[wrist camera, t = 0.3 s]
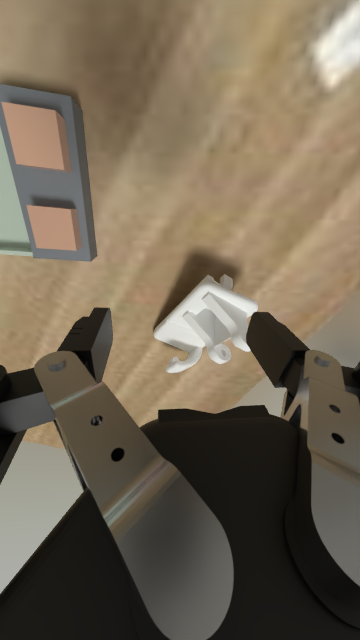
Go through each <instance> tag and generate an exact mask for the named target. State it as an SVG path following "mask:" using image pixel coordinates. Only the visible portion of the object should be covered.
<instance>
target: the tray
mask: <svg viewBox="0 0 360 640" xmlns="http://www.w3.org/2000/svg"><path fill="white" fill-rule="evenodd" d="M0 254H7V255H22V256H33V253H32V249H31V245H30V241H29V237H28V233H27V229H26V226H25V222H24V218H23V214H22V210H21V206H20V202H19V198H18V194H17V190H16V186H15V182H14V178H13V175H12V171H11V167H10V163H9V159H8V155H7V151H6V147H5V143H4V139H3V135H2V131H1V127H0Z"/></svg>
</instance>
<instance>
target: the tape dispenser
mask: <svg viewBox="0 0 360 640" xmlns="http://www.w3.org/2000/svg"><path fill="white" fill-rule="evenodd" d="M232 288H233V279H232V278H230V277H229V276H227V275H226V274H224V275H223V276H222V277H221V278H220V283H218V282H216V281H214V278H213V277H211V276H210V275H207V276H206V277H205V278H204V279H203V280H202V281H201V282H200V283H199V284H198V285H197V286H196V287H195V288H194V289H193V290H192V291H191V292H190V293H189V294H188V295H187V296H186V298H185V299H184V300H183V301H182V302H181V303H180V304H179V305H178V306H177V307H176V308H175V309H174V310H173V311H172V312H171V313H170V314H169V315H168V316H167V317H166V318H165V319H164V320H163V321H162V322H161V323H160V324H159V325H158V326H157V327H156V328H155V329H154V334H153V335H154V337H155V338H156V339H158V340H160V341H162V342H165V343H167V344H170V345H172V346H174V347H177V348H179V349H182V350H184V351H186V352H188V357H187V359H186V360H185V361H179V359H178V358H177V357H174V358H172V359H171V360H169V363H168V366H167V367H166V371H167V372H169V373H176V372H181V371H183V370H185V369H187V368H189V367H191V366H193V365H194V364H195V363H196V362H197V361H198V360H199V358H200V356H201V354H202V348H203V347H204V346H206V347H207V352H208V355H209V356H210V358H211V359H212V360H213V361H215V362H217V363H219V364H223V363H225V362H227V361H229V360H230V359H231V352H230V350H229V348H228V347H227V346H226V345H223V344H222V343H223V342H224V341H226V340H228V339H230V338H231V340H232V342H233V344H234V345H235V346H236V347H239V348H240V349H242V350H244V351H246V352H249V351H251V350H250V348H249V347H248V345H247V343H246V333H247V330H248V324H247V318H248V317H249V316H251V315H252V314H253V313H254V312H256V311H257V310H258V304H257V302H256V301H255V300H252V299H250V298H247V297H245V296H243V295H241V294H240V293H238V292H237V293H235V292H233V291H231V289H232Z"/></svg>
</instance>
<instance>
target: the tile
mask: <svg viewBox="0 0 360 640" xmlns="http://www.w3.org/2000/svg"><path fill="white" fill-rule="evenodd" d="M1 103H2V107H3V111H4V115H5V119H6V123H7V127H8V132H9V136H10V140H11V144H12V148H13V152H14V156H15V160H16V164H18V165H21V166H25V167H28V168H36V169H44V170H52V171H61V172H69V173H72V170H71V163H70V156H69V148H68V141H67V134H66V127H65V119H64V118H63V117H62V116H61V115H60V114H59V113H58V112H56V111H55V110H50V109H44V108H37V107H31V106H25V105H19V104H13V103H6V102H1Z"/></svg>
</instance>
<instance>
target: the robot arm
mask: <svg viewBox="0 0 360 640" xmlns="http://www.w3.org/2000/svg"><path fill="white" fill-rule="evenodd" d="M112 341H113V330H112V320H111V311H110V308H94V309H93V311H92V313H91V314H90V316H89V317H82V318H81V319H79V320H78V321H76V322H75V324H74V325H73V327H72V329H71V330H70V332H69V333H68V335H67V336H66V338H65V339H64V341H63V342H62V344H61V346H60V347H59V349H58V350H57V352H53V353H50V354H48V355H46V356H44V357H42V358H41V359H40V360H38V362H37V363H36V364H35V366H34V368H31V369H27V370H22V371H17V372H13V373H7V371H6V369H5V367H4V366H2V365H0V484H1V482H2V480H3V478H4V476H5V474H6V472H7V469H8V468H9V465H10V463H11V461H12V459H13V457H14V455H15V453H16V451H17V449H18V447H19V445H20V443H21V441H22V439H23V437H24V435H25V433H26V430H27V429H29V428H32V427H35V426H38V425H41V424H44V423H47V422H51V421H53V422H54V424H55V426H56V429H57V431H58V433H59V435H60V438H61V440H62V442H63V445H64V447H65V449H66V451H67V454H68V456H69V458H70V461H71V463H72V466H73V468H74V471H75V473H76V475H77V478H78V480H79V482H80V485H81V487H82V489H83V493H82V494H81V495H80V497H79V498H78V499H77V500H76V502H75V503H74V504H73V505H72V506H71V508H70V509H69V510H68V512H67V513H66V514H65V515H64V516H63V517H62V519H61V520H60V521H59V522H58V524H57V525H56V526H55V527H54V529H53V530H52V531H51V532H50V534H49V535H48V536H47V537H46V538H45V540H44V541H43V542H42V543H41V545H40V546H39V547H38V548H37V550H36V551H35V552H34V553H33V555H32V556H31V557H30V558H29V559H28V561H27V562H26V563H25V564H24V565H23V567H22V568H21V569H20V570H19V572H18V573H17V574H16V575H15V577H14V578H13V579H12V580H11V582H10V583H9V584H8V585H7V586H6V588H5V589H4V590H3V591H2V593H1V594H0V640H360V362H359V363H358V365H357V366H356V367H355V369H354V368H349V367H344V366H341V365H340V363H339V362H338V361H337V360H336V359H335V358H333V357H332V356H330V355H329V354H326V353H324V352H321V351H317V350H310V349H309V348H308V347H307V346H305V344H304V343H303V342H302V341H301V340H299V339H298V338H297V337H295V335H294V334H293V333H292V332H290V330H289V329H288V328H287V327H286V326H285V325H283V324H281V323H280V322H278V321H277V320H276V319H275V318H274V317H273V316H272V315H271V314H270V313H268V312H254V313H253V314H252V317H251V320H250V323H249V327H248V330H247V333H246V343H247V345H248V347H249V348H250V350H251V351H252V353H253V354H254V356H255V357H256V359H257V360H258V362H259V364H260V365H261V367H262V368H263V370H264V371H265V373H266V374H267V376H268V377H269V379H270V380H271V382H272V384H273V385H274V387H275V388H279V387H286V388H287V390H286V392H285V394H284V400H283V406H282V412H281V417H277V416H274V415H270V414H269V413H268V411H267V409H266V407H265V405H255V406H240V407H236V408H233V409H230V410H227V411H224V412H220V413H217V414H212V413H207V412H201V411H196V410H191V409H166V410H158V419H156V420H153V421H151V422H149V423H146V424H145V425H143V426H141V427H140V428H139V427H138V425H137V424H136V423H135V421H134V420H133V419H132V418H131V416H130V415H129V414H128V412H127V411H126V410H125V409H124V407H123V406H122V405H121V403H120V402H119V401H118V400H117V398H116V397H115V396H114V394H113V393H112V392H111V391H110V389H109V388H108V387H107V385H106V384H105V383H104V382H103V381H102V377H103V374H104V370H105V367H106V363H107V360H108V356H109V353H110V349H111V346H112Z"/></svg>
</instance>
